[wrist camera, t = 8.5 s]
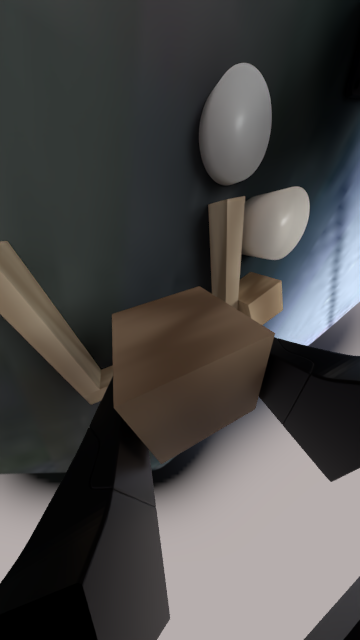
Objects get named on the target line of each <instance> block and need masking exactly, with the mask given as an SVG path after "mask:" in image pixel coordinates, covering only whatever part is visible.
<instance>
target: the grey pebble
mask: <svg viewBox="0 0 360 640" xmlns="http://www.w3.org/2000/svg"><path fill="white" fill-rule="evenodd" d="M271 123H272V109H271V99H270V95H269V91H268V87H267V84H266V82H265V80H264V78H263V76H262V74H261V73H260V72H259V71H258V69H256V68H255V67H254V66H252V65H251V64H248V63H239V64H236V65H234V66H233V67H231V68H230V69H229V70H228V71H227V72H226V73H225V74H224V76H223V77H222V78H221V80H220V81H219V82H218V84H217V85H216V86H215V88H214V89H213V91H212V92H211V93H210V95H209V97H208V98H207V100H206V103H205V105H204V108H203V111H202V114H201V119H200V125H199V148H200V154H201V158H202V162H203V164H204V167H205V169H206V171H207V173H208V174H209V176H210V177H211V178H212V179H213V180H214V181H215V182H217V183H218V184H221V185H225V186H227V185H232V184H235V183H237V182H240V181H243V180H245V179H247V178H248V177H250V176H251V175H252V174H253V173H254V172H255V171H256V169H257V168H258V166H259V165H260V163H261V161H262V159H263V157H264V155H265V152H266V149H267V146H268V142H269V138H270V132H271Z"/></svg>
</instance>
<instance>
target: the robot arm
mask: <svg viewBox="0 0 360 640" xmlns="http://www.w3.org/2000/svg"><path fill="white" fill-rule="evenodd" d="M345 96H346V98H360V40H359V44H358V47H357V51H356V55H355V58H354V62H353V65H352V69H351V73H350V76H349V80H348V83H347V87H346V92H345ZM259 397H260V399H262V401H263V402H264V403H265V404H266V406H267V407H268V408H269V409H270V410H271V412H272V413H273V414H274V415H275V416H276V417H277V419H278V420H279V421H280V422H281V424H283V426H284V427H285V428H286V430H287V431H288V432H289V433H290V434H291V436H292V437H293V438H294V439H295V440H296V441H297V443H298V444H299V445H300V446H301V448H302V449H303V450H304V451H305V452H306V453H307V455H308V456H309V457H310V458H311V459H312V461H313V462H314V463H315V464H316V465H317V467H318V468H319V469H320V470H321V471H322V473H323V474H324V475H325V476H326V477H327V478H328V479H329V480H330V481H331V482H332V481H334V480H336V479H338V478H340V477H342V476H344V475H346V474H348V473H350V472H353V471H355V470H357V469H359V468H360V356H352V355H346V354H341V353H336V352H331V351H327V350H323V349H318V348H314V347H309V346H305V345H301V344H297V343H293V342H289V341H286V340H282V339H279V338H278V339H277V338H275V337H274V339H273V343H272V346H271V350H270V354H269V358H268V362H267V366H266V369H265V373H264V377H263V381H262V385H261V388H260V392H259ZM169 619H170V614H169V606H168V598H167V590H166V582H165V574H164V567H163V558H162V551H161V543H160V535H159V527H158V519H157V511H156V505H155V496H154V488H153V480H152V472H151V464H150V456H149V449H148V448H147V446H146V445H145V444H144V443H143V442H142V441H141V439H140V438H139V437H138V436H137V435H136V433H135V432H134V431H133V430H132V429H131V428H130V426H129V425H128V424H127V423H126V422H125V420H124V419H123V418H122V417H121V416H120V415H119V413H118V412H117V411H116V410H115V409H114V402H113V376H112V378H111V381H110V383H109V385H108V387H107V389H106V391H105V394H104V396H103V398H102V400H101V402H100V404H99V407H98V409H97V411H96V413H95V415H94V417H93V419H92V422H91V424H90V428H88V430H87V432H86V434H85V437H84V439H83V441H82V443H81V445H80V447H79V449H78V451H77V453H76V455H75V457H74V459H73V461H72V463H71V465H70V466H69V468H68V470H67V472H66V474H65V476H64V478H63V480H62V481H61V483H60V485H59V487H58V489H57V490H56V492H55V494H54V496H53V498H52V499H51V501H50V503H49V505H48V507H47V508H46V510H45V512H44V514H43V516H42V518H41V519H40V522H39V523H38V525H37V527H36V528H35V530H34V532H33V534H32V536H31V537H30V539H29V541H28V543H27V544H26V546H25V548H24V549H23V551H22V552H21V554H20V556H19V557H18V559H17V560H16V562H15V563H14V565H13V566H12V568H11V569H10V571H9V572H8V573H7V575H6V576H5V578H4V579H3V580H2V582H1V583H0V640H157V639H158V637H159V635H160V634H161V632H162V630H163V629H164V627H165V626H166V624H167V623H168V621H169ZM304 640H360V577H359V578H358V579H357V580H356V581H355V582H354V583H353V585H352V586H351V587H350V588H349V589H348V590H347V591H346V593H345V594H344V595H343V596H342V597H341V598H340V599H339V600H338V602H337V603H336V604H335V605H334V606H333V607H332V608H331V609H330V611H329V612H328V613H327V614H326V615H325V616H324V617H323V618H322V620H321V621H320V622H319V623H318V624H317V625H316V626H315V628H314V629H313V630H312V631H311V632H310V633H309V634H308V635H307V637H306V638H305V639H304Z"/></svg>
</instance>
